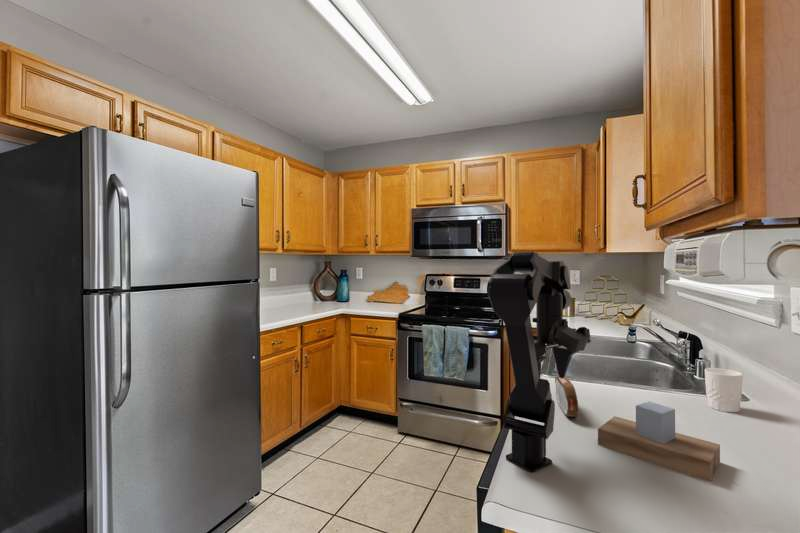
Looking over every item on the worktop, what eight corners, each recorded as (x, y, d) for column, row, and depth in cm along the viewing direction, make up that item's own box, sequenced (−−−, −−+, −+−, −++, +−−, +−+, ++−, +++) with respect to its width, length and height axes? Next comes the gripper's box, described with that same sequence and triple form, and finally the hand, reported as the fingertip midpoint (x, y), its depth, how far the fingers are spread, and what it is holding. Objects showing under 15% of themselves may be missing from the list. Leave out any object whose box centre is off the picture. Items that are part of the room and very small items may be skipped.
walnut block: (710, 484, 67) (710, 462, 67) (598, 446, 81) (597, 428, 81) (720, 464, 73) (719, 444, 73) (614, 433, 87) (614, 416, 87)
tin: (579, 422, 92) (579, 388, 92) (566, 421, 93) (565, 388, 93) (565, 401, 107) (565, 372, 107) (553, 400, 108) (553, 371, 108)
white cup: (750, 414, 97) (750, 376, 97) (717, 412, 98) (716, 375, 98) (729, 403, 105) (728, 368, 105) (698, 402, 106) (697, 367, 106)
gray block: (662, 443, 74) (661, 413, 74) (636, 434, 78) (635, 405, 78) (675, 438, 76) (675, 409, 76) (649, 429, 80) (648, 401, 80)
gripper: (554, 321, 75) (555, 398, 75) (605, 315, 85) (606, 383, 85) (511, 315, 85) (512, 384, 85) (561, 310, 95) (562, 371, 95)
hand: (549, 380), depth 87 cm, fingers open, 9 cm apart
